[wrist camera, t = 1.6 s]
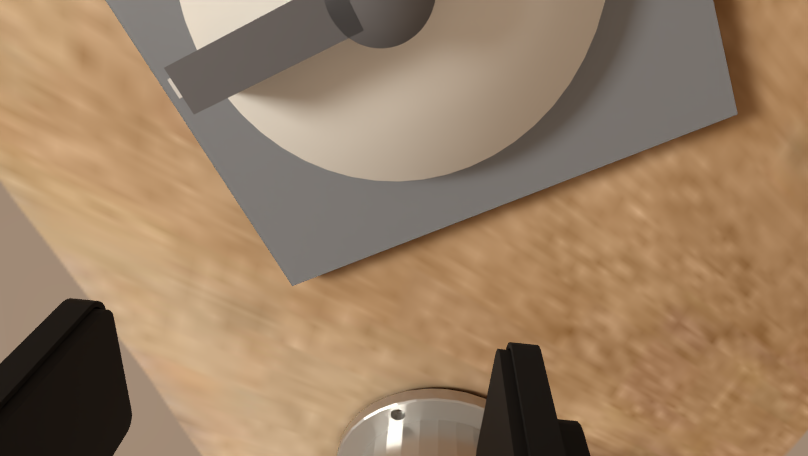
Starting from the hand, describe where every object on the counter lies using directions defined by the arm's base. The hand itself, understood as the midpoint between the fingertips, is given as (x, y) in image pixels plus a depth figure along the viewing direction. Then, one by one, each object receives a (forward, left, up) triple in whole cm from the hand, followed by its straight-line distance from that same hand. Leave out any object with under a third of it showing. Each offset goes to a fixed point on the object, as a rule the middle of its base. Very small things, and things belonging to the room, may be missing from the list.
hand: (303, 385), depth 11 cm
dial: (+5, -3, -16) cm, 17 cm away
